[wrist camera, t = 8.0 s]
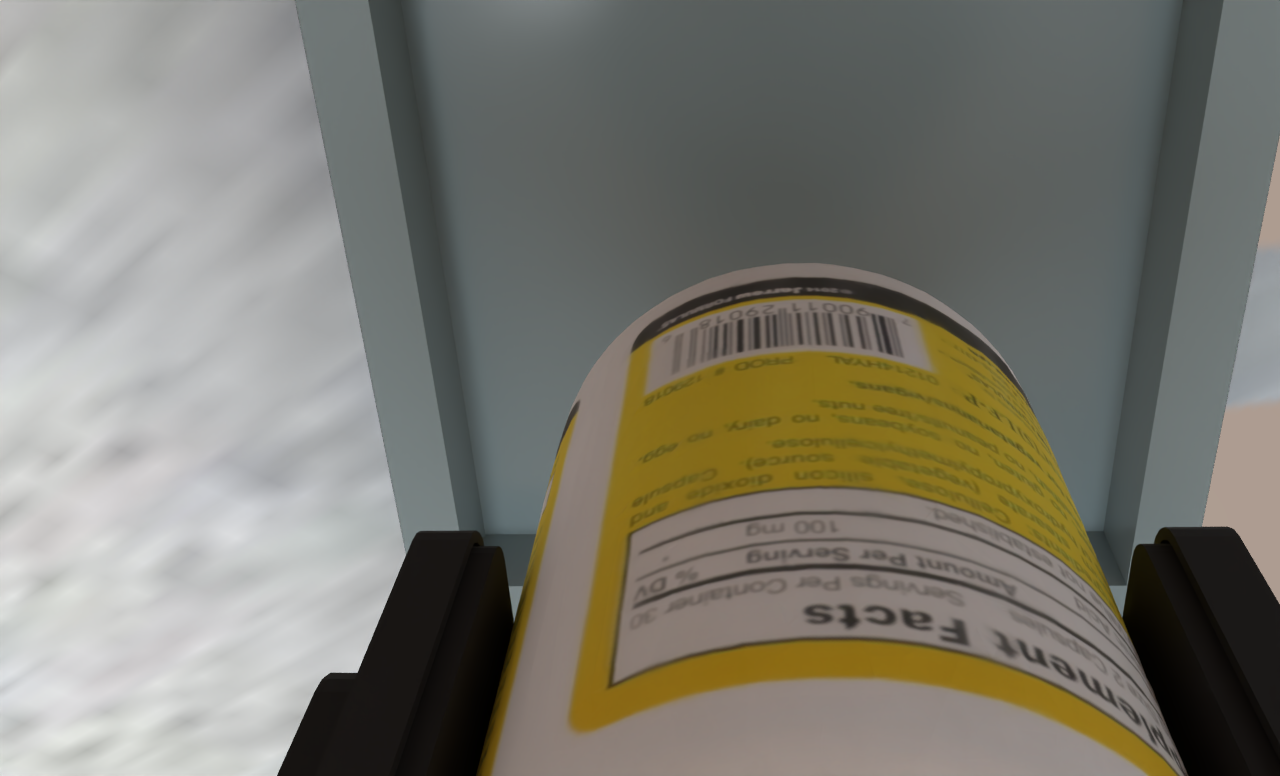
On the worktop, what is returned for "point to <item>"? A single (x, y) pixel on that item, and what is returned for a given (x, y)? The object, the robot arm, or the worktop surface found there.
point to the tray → (797, 211)
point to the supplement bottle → (814, 557)
